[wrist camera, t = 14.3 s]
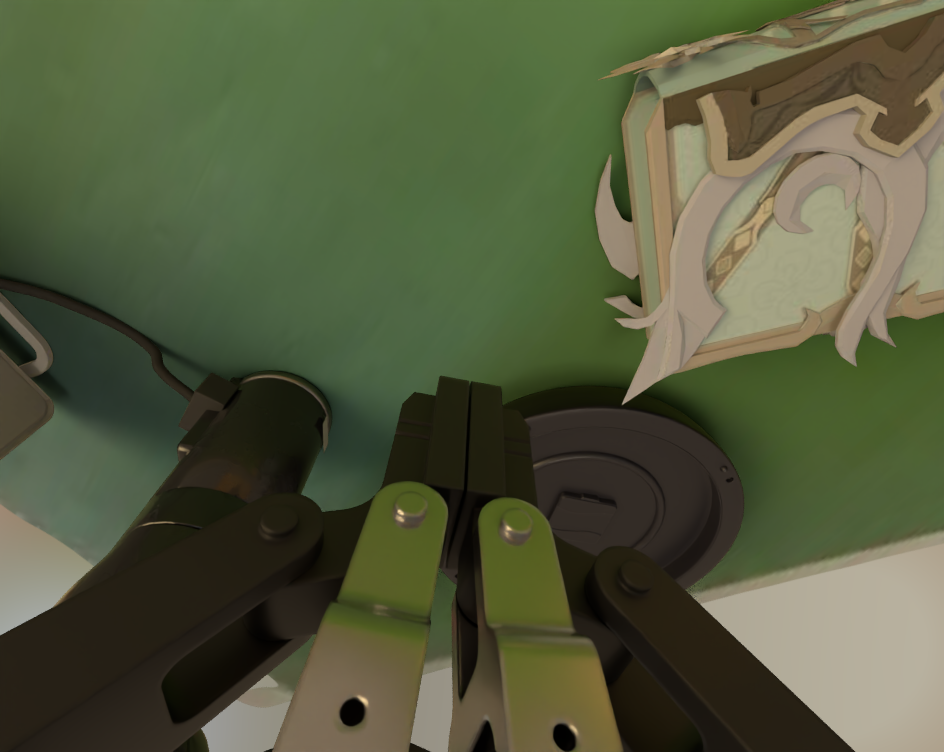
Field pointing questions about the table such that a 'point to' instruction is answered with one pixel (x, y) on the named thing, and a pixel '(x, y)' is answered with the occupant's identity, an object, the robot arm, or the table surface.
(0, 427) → the network device
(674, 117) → the ornate book
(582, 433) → the round tray
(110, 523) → the table surface
